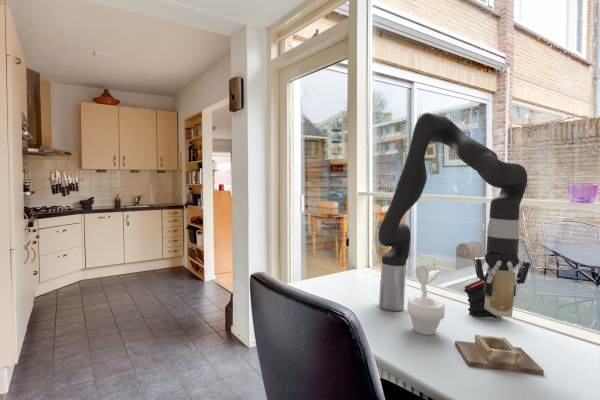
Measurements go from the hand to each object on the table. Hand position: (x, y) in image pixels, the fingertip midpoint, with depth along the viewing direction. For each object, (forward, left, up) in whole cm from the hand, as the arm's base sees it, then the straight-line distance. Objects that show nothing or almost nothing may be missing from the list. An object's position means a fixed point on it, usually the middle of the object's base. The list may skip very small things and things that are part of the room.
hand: (499, 296), depth 96 cm
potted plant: (-16, +14, -18) cm, 28 cm away
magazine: (+8, +35, -18) cm, 40 cm away
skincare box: (0, 0, -5) cm, 5 cm away
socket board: (0, 0, -17) cm, 17 cm away
